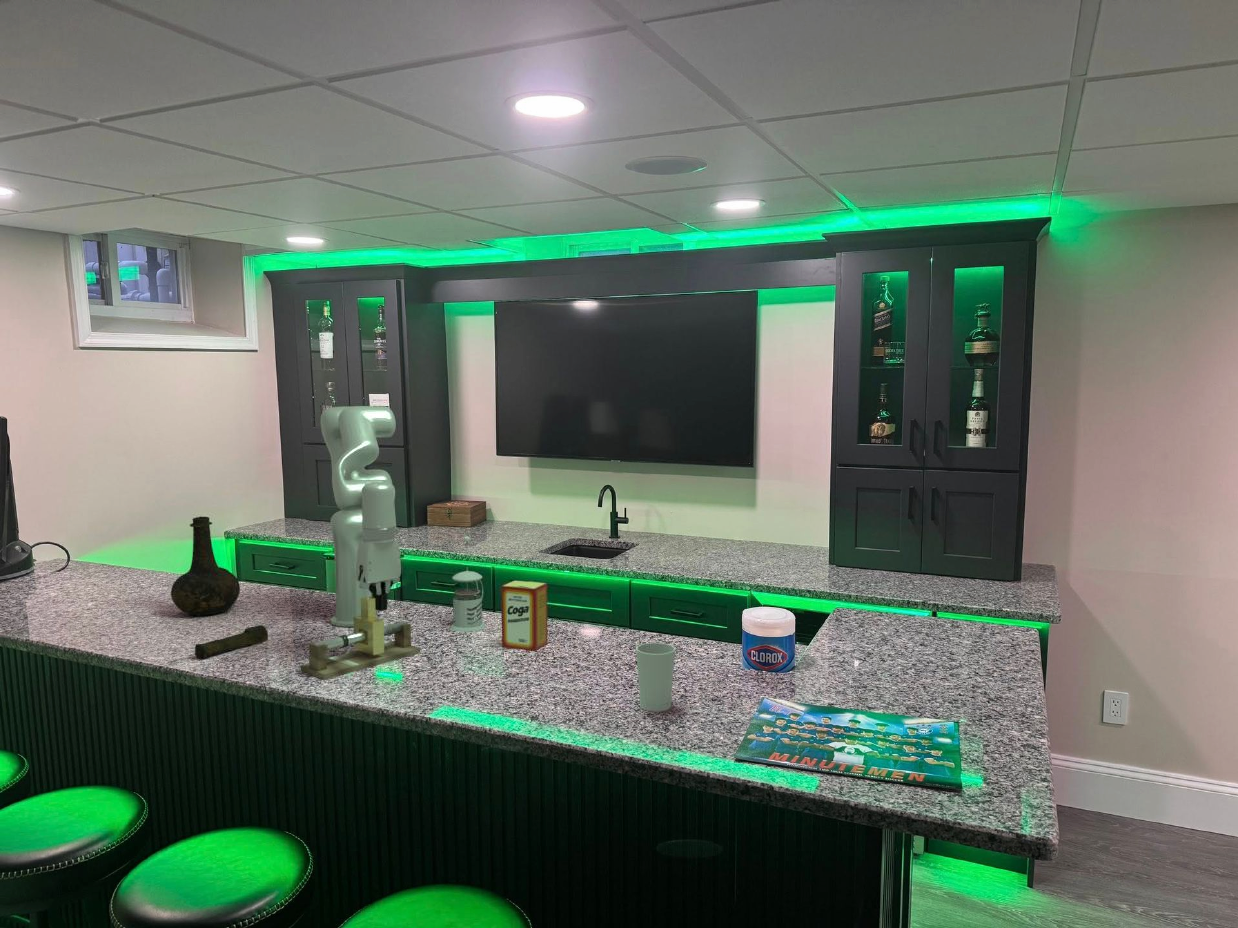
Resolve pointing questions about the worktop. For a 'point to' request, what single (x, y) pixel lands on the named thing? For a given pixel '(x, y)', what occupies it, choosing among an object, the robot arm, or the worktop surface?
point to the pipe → (358, 637)
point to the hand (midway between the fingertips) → (380, 609)
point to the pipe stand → (358, 657)
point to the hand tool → (232, 642)
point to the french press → (467, 602)
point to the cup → (655, 675)
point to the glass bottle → (204, 578)
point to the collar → (369, 628)
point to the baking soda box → (524, 615)
